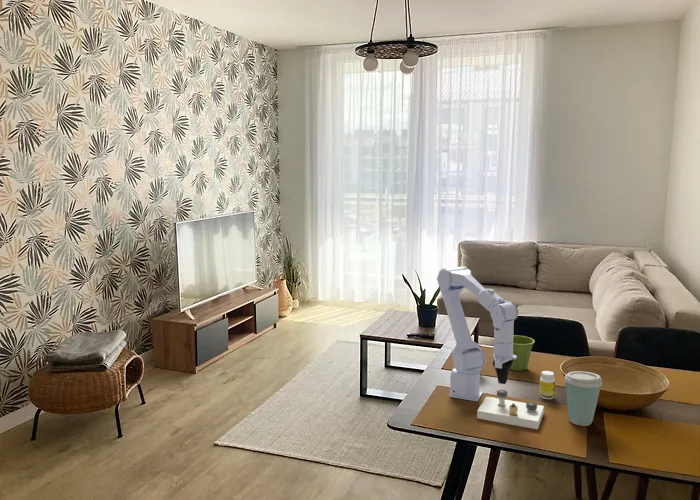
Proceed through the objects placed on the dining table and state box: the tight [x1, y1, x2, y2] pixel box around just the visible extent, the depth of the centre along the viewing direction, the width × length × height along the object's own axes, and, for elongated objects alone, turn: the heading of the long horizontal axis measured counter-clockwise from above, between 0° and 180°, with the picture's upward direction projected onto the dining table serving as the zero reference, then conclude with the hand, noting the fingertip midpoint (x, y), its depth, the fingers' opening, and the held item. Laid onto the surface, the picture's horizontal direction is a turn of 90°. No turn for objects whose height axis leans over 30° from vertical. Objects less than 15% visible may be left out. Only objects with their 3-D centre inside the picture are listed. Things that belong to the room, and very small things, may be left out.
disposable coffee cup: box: [564, 370, 603, 427], centre depth 173 cm, size 11×11×15 cm
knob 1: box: [496, 389, 508, 406], centre depth 180 cm, size 3×3×4 cm
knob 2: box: [525, 401, 538, 412], centre depth 176 cm, size 3×3×4 cm
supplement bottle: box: [539, 370, 556, 400], centre depth 192 cm, size 5×5×8 cm
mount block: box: [476, 396, 545, 430], centre depth 178 cm, size 18×12×2 cm, turn 63°
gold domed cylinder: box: [509, 404, 518, 416], centre depth 174 cm, size 2×2×3 cm
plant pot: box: [510, 334, 536, 372], centre depth 219 cm, size 12×12×11 cm
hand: (502, 383), depth 179 cm, fingers closed
